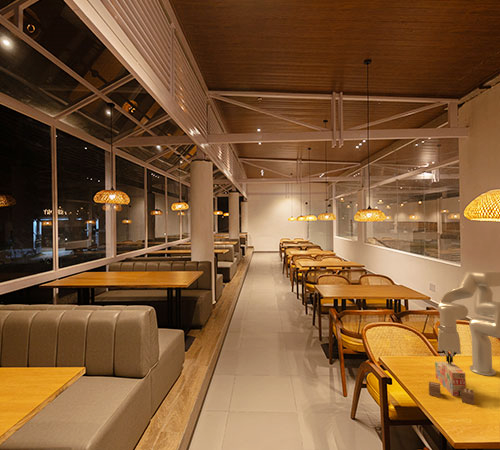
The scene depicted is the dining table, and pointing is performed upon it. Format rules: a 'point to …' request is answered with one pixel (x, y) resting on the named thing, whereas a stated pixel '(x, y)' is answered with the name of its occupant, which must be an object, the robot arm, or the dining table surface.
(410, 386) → the dining table surface
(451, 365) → the stack of blocks
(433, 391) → the walnut cube one
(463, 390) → the walnut cube two
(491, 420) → the dining table surface
